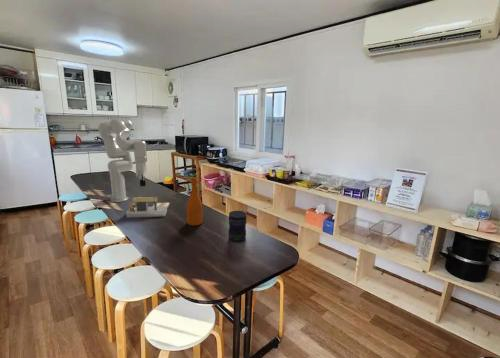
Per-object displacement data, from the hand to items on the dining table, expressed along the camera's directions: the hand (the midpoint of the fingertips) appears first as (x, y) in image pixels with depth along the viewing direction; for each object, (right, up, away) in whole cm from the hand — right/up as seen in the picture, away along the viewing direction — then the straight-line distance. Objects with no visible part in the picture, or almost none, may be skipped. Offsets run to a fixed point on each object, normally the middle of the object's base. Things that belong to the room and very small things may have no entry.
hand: (143, 186), depth 171 cm
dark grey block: (+1, -16, -2) cm, 16 cm away
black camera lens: (+66, -29, -31) cm, 79 cm away
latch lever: (+3, -10, -3) cm, 11 cm away
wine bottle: (+38, -24, -12) cm, 47 cm away
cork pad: (+7, -16, +15) cm, 23 cm away
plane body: (+4, -19, -1) cm, 20 cm away
